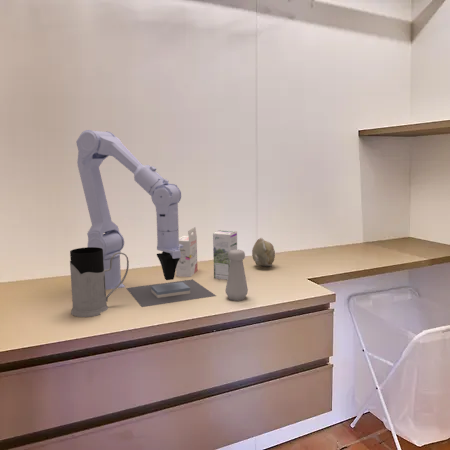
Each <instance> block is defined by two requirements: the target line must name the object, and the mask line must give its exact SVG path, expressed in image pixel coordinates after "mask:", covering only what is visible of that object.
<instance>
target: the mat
mask: <svg viewBox="0 0 450 450" xmlns="http://www.w3.org/2000/svg"><path fill="white" fill-rule="evenodd" d="M180 282H183V283H184V284H186V285H187V286H188V287H190V293H189V294H182V295H175V296H168V297H161V298H157V297H156V296H155V295H154V294H153V293H152V291H151V286H157V285H165V284H172V283H180ZM125 288H126V290H127V291H128V292H129V293H130V295H131V296H132V297H133V298H134V300H135V301H136V302H137V303H138V304H139V306H140V307H141V308H143V307H144V308H145V307H151V306H157V305H158V306H159V305H165V304H166V305H167V304H171V303H179V302H184V301H185V302H186V301H192V300H199V299H205V298H212V297H217V295H216V294H214V293H213V292H212V291H210V290H208V289H207V288H206V287H205V286H203V285H202V284H200V283H199V282H197V281H196V280H194V279H193V278H192V279H184V280H177V281H170V282H164V283H163V282H161V283H156V284H147V285H138V286H133V287H131V286H130V287H125Z"/></svg>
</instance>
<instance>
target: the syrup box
mask: <svg viewBox="0 0 450 450" xmlns="http://www.w3.org/2000/svg"><path fill="white" fill-rule="evenodd" d="M212 239H213V240H212V246H213V248H212V250H213V251H212V252H213V253H212V254H213V279H214V280H224V281H227V279H228V273H229V267H230V261H231V260H229V259H228V253H229V251H231V250H238V231H236V230H221V229H220V230H217V231H215V232H213V233H212Z"/></svg>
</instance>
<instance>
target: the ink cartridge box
mask: <svg viewBox="0 0 450 450" xmlns="http://www.w3.org/2000/svg"><path fill="white" fill-rule="evenodd" d="M179 244H182V245H183V248H180V252H181V258H180V259H179V261H178V263H177V266H176V270H175V276H176V277H189V278H190V277H192V276H193V275H194V274H195V273H196V272H197V271H198V236H197V228H196V226H195V227H193V228H191V229H189V230H187V235H182V236H181V237H180V236H179Z"/></svg>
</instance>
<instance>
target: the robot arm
mask: <svg viewBox="0 0 450 450" xmlns="http://www.w3.org/2000/svg"><path fill="white" fill-rule="evenodd" d="M75 144H76V147H77V151H78V153H77V160H76V161H77V168H78V173H79V176H80V180H81V185H82V189H83V193H84V197H85V202H86V206H87V209H88V213H89V217H90V223H91V226H90V228H89V229H88V231H87V233H86V234H87V247H97V248H102V249H103V262H104V270H107V269H109V268H110V260H111V257H112V256H113V255H114V254H115V253H117V252H121V251H122V250H123V248H124V246H125V238H124V236H123V235H122V233H121V232H120V229H119V226H118V225H117V224H116V223H115V222H113V221H112V216H111V214H110V209H109V204H108V200H107V196H106V191H105V188H104V184H103V178H102V176H101V174H102V173H101V170H100V166H101V165H102V163H103V161H105V160H107V158H108V157H113V158H114V159H115V160H117V161H118V162H119V163H120V164H121V165H123V166H124V167H125V168H126V169H127V170H129V171H130V172H131V173H132V174H133V178H134V181H135V183H137V184H138V185H139V186H140V187H141V188H142V190H144V191H145V192H146V193H147V194H148V195H150V196H151V197H150V199H151V202H152V204H153V205H154V207H155V213H156V236H157V237H156V238H157V240H156V250H157V251H159V252H161V253H156V257H157V259H158V260H159V263H160V265H161V269H162V274H163V276H164V280H166V281H172V280H173V281H174V279H175V276H176V266H177V263H178V261H179V259H180V258H181V252H180V248H183V245H182V244H179V238H180V235H179V234H180V233H179V228H180V227H179V203H180V201H181V199H182V191H181V190H180V188H179V187H178V185H177V184H176V183H169V180H168V179H167V178H164V177H163V176H162V175H161V174H160V173H158V172H157V167H156V166H153V165H149V164H145V165H144V164H142V163H141V161H139V159H138V158H137V157H136V156H135V155H134V154H133V153H132V152H131V150H130V149H128V148H127V146H125V144H123V142H122V141H121V139H120V138H119V137H117V136H116V135H115V134H114V133H113V132H111V131H108V130H107V131H101V130H92V129H86V130H83V131H82V132H81V134H80V135H79V136H78V138H77V139H76V143H75ZM121 253H122V252H121ZM121 270H122V269H121V254H117V255H115V256H114V258H113V260H112V268H111V270H109V271H105V286H106V291H107V290H113V289H114V288H115V287H116V286H117V285H118V284H119V283H120V282H121V281H122V275H121V273H122V272H121ZM122 288H126V286H125V285H124V282H123V283H122V284H121V285H120V286H119V287H118V288H117V289H122Z"/></svg>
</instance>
